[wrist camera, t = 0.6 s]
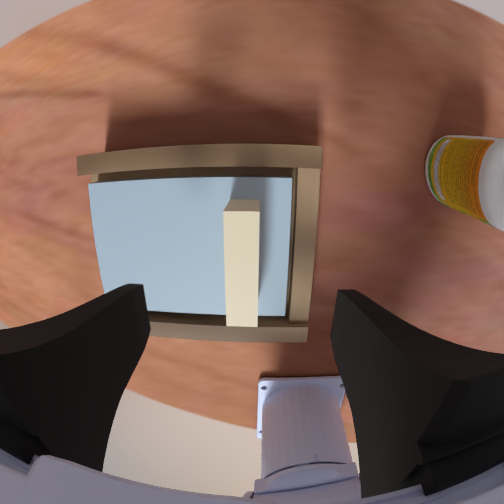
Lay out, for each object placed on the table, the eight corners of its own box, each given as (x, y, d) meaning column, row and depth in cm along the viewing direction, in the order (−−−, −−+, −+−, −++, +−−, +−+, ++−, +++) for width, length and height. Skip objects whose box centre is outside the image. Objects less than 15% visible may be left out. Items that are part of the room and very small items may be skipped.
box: (300, 313, 22) (306, 342, 19) (123, 305, 22) (104, 330, 19) (311, 146, 18) (322, 146, 14) (104, 152, 18) (76, 156, 15)
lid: (283, 306, 19) (288, 345, 16) (114, 298, 20) (88, 330, 16) (290, 175, 17) (299, 185, 13) (97, 181, 17) (60, 192, 13)
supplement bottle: (429, 213, 19) (517, 262, 10) (416, 140, 17) (513, 149, 8) (478, 197, 18) (565, 234, 9) (468, 130, 17) (563, 139, 7)
